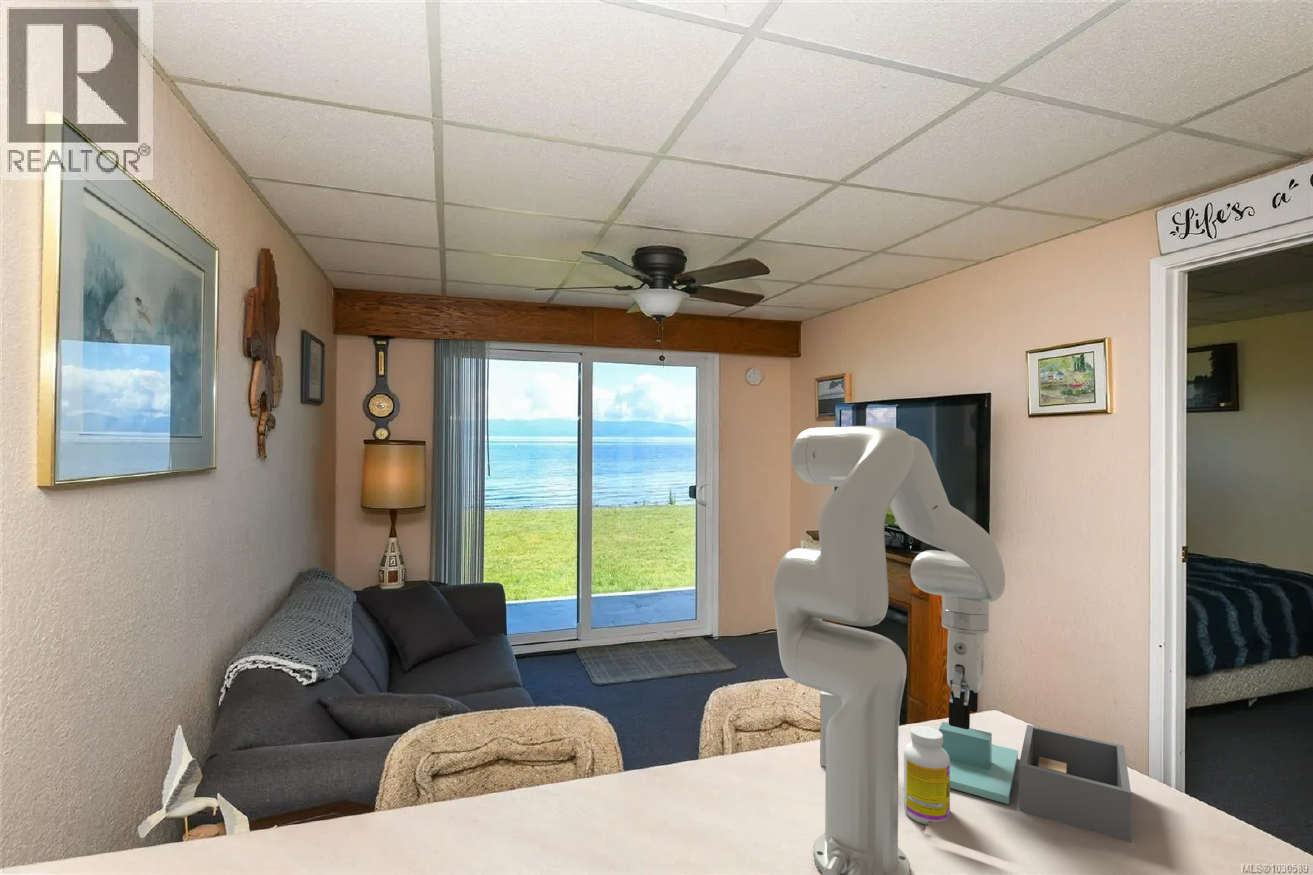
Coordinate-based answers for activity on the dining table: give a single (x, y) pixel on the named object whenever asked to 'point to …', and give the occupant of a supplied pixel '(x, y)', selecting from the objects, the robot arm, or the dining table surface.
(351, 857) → the dining table surface
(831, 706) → the small box
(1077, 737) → the tub
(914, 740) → the supplement bottle
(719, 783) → the dining table surface
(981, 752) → the lid
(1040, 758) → the pine block
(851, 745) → the robot arm
